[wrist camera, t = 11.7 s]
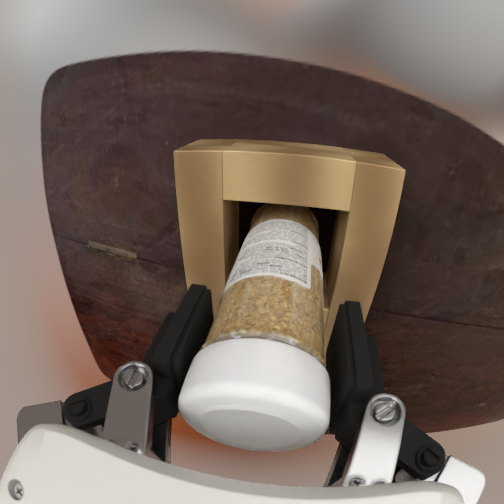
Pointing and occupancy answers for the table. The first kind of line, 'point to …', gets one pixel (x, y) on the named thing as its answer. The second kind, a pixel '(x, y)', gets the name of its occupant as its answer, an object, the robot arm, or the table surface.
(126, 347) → the table surface
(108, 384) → the robot arm
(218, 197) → the holder
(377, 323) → the table surface
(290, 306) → the sprinkles bottle
